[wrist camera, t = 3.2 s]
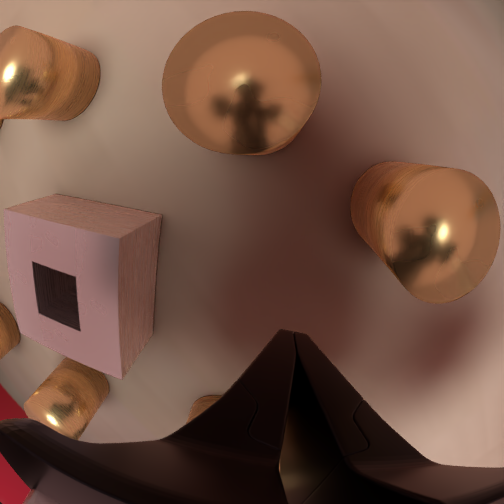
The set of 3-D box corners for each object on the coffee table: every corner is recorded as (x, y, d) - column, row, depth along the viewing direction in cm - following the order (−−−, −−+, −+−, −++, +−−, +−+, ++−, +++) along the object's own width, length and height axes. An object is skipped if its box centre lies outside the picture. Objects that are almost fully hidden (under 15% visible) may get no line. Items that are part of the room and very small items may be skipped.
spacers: (317, 453, 13) (320, 513, 9) (-4, 343, 14) (-39, 373, 10) (451, 110, 8) (524, 99, 4) (-14, 72, 8) (-68, 69, 5)
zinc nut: (153, 334, 12) (122, 380, 9) (59, 300, 12) (20, 332, 9) (162, 214, 10) (119, 238, 7) (55, 193, 10) (3, 209, 7)
